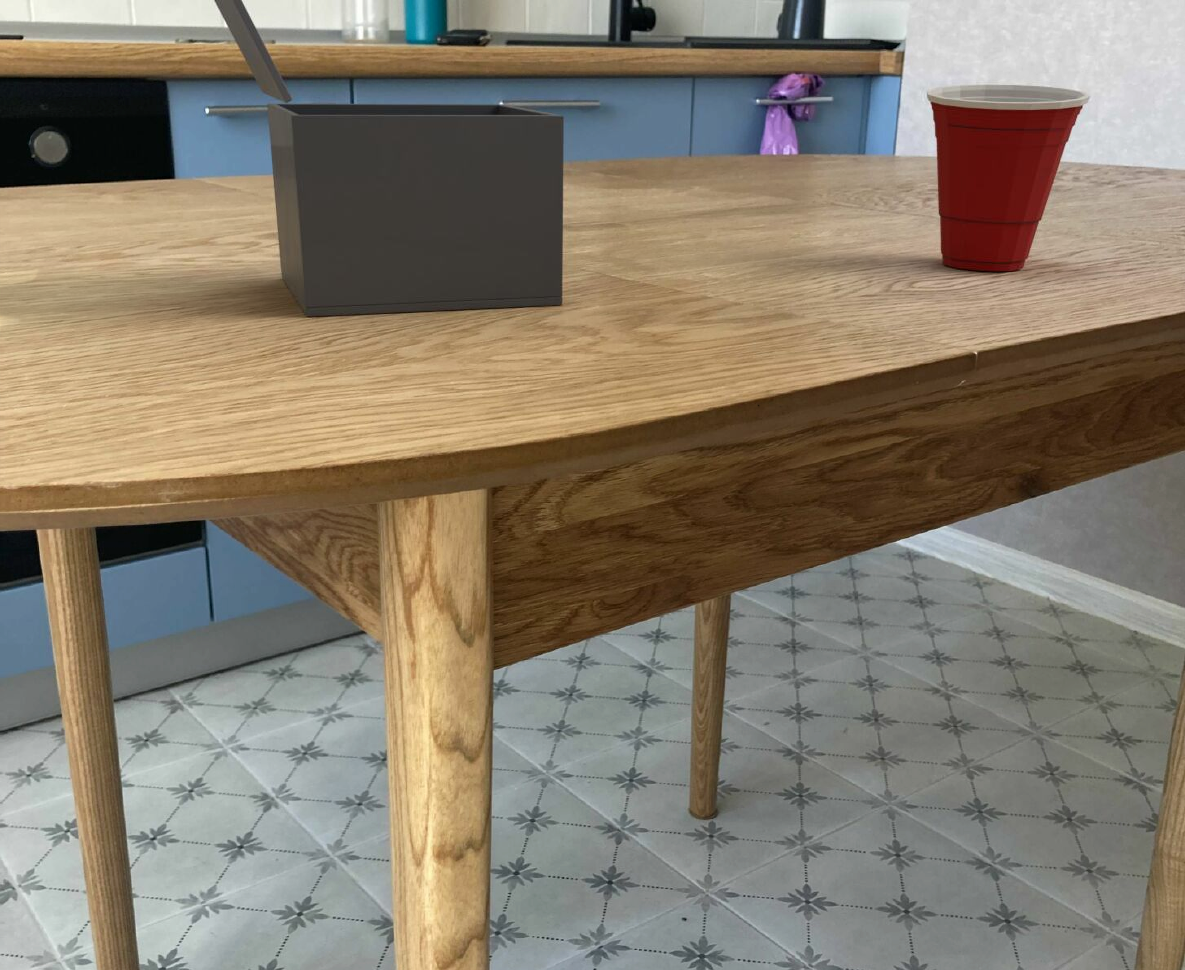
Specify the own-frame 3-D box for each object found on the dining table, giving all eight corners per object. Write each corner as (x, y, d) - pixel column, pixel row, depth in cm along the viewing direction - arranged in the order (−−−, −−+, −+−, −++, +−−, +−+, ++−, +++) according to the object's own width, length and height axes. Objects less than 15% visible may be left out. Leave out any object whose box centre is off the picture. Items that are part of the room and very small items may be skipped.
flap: (292, 99, 66) (286, 103, 66) (268, 90, 77) (262, 93, 77) (217, -47, 62) (210, -43, 62) (203, -35, 73) (197, -32, 73)
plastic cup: (894, 271, 88) (915, 85, 83) (917, 250, 97) (937, 82, 92) (1056, 283, 85) (1088, 91, 80) (1064, 261, 94) (1093, 87, 89)
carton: (306, 316, 70) (291, 115, 66) (281, 277, 81) (267, 103, 77) (562, 305, 75) (564, 115, 70) (505, 269, 86) (503, 104, 81)
